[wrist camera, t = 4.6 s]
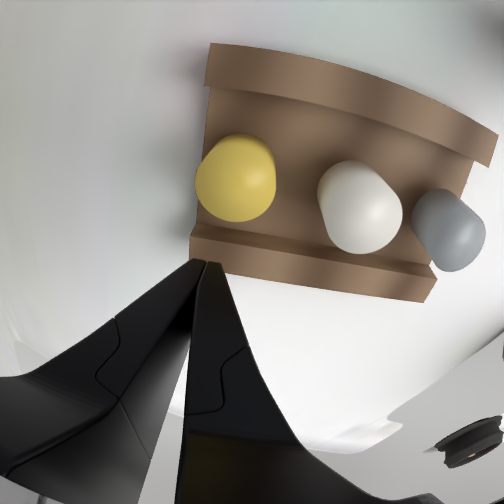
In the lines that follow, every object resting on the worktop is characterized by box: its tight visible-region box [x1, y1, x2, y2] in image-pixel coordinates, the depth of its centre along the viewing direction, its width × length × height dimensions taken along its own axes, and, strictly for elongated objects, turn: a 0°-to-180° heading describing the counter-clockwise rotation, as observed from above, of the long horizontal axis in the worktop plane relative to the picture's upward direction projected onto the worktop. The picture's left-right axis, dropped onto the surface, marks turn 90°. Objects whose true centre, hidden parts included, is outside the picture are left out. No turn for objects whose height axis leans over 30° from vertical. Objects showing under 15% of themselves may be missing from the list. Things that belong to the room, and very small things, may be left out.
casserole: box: [434, 416, 504, 468], centre depth 44 cm, size 25×19×8 cm
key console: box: [189, 43, 499, 303], centre depth 17 cm, size 18×14×3 cm
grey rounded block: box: [411, 188, 486, 272], centre depth 15 cm, size 4×4×3 cm
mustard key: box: [195, 133, 276, 222], centre depth 16 cm, size 4×4×3 cm
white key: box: [317, 160, 402, 254], centre depth 15 cm, size 4×4×3 cm
